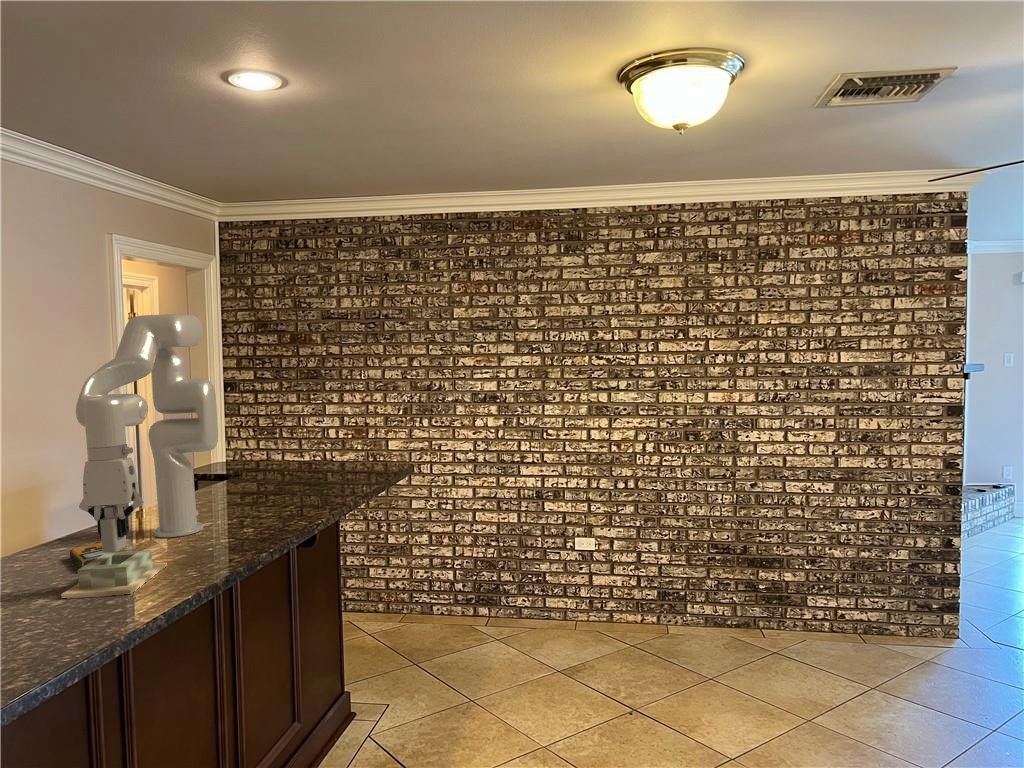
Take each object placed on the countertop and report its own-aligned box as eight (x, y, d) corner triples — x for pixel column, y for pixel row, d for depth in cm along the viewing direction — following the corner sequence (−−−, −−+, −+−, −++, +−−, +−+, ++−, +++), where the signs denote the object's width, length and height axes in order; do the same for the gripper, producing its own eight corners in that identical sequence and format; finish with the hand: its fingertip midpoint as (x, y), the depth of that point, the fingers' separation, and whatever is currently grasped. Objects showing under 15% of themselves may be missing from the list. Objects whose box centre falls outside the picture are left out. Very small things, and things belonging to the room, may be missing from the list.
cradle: (105, 570, 165) (104, 549, 165) (167, 566, 166) (165, 545, 166) (61, 598, 147) (59, 575, 147) (131, 594, 148) (129, 571, 148)
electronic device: (106, 553, 181) (105, 540, 181) (123, 566, 170) (122, 552, 169) (68, 561, 175) (67, 548, 175) (83, 574, 164) (82, 560, 164)
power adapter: (127, 544, 159) (123, 492, 158) (115, 551, 153) (111, 497, 153) (113, 545, 159) (109, 492, 158) (101, 552, 153) (96, 498, 152)
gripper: (153, 449, 159) (159, 529, 160) (78, 452, 158) (84, 533, 159) (138, 454, 151) (144, 539, 153) (58, 458, 150) (65, 543, 152)
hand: (114, 535), depth 156 cm, fingers closed on power adapter, 3 cm apart
